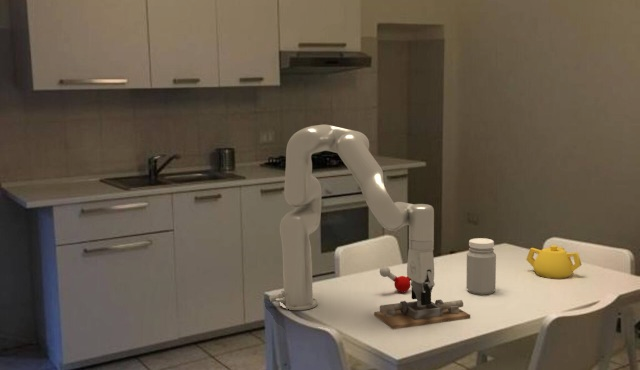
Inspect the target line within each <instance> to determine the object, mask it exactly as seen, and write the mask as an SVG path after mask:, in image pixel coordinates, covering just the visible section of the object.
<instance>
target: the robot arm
mask: <svg viewBox="0 0 640 370" xmlns="http://www.w3.org/2000/svg"><path fill="white" fill-rule="evenodd" d="M369 149H370V141H369V139H368V137H367V135H365V134H364V133H363V132H361V131H357V130H352V129H349V128H348V129H347V128H344V127H339V126H335V125H330V124H318V125H310V126H306V127H304V128H301V129H300V130H297V132H295V133H293V135H292V136H290V139H289V140H288V142H287V145H286V152H285V154H286V155H285V169H284V170H285V171H284V172H285V173H284V193H283V194H284V200H285V201H286V203H287V204H288V205H289V206H291V207H292V208H293V209H294V210H291V211H288V212H287V213H286V214H285V215H284V216H283V217H282V218H281V220H280V224H279V235H280V239H281V240H280V241H281V248H282V249H281V251H282V275H283V277H282V278H283V290H281V292H280V293H278V295H277V294H276V295H275V294H274V295H269V302H270V303H271V302H275V303H279V302H281V303H283V304H284V305H285V306H286V308H287V309H286V310H288V309H289V310H288V311H305V310H309V309H311V310H312V309H313V308H316V307H317V306H318V299H316V298H315V297H314V295H313V293H314V291H313V259H312V245H311V241H310V235H311V234H313V233H314V232H316V231H317V229H318V228H319V226H320V223H321V216H322V215H321V212H322V186H321V183H320V181H319V180H318V179H317V177H315V176H314V175H313V174H312V171H313V161H312V155H314V154H315V153H316V154H317V153H321V152H325V151H326V152H332V153H336V154H338V156H339V158H340V159H341V161H342V162H343V164H344V165H345V166H346V168H347V169H348V170H349V172H350V173H351V175H352V177H353V178H354V180H355V181H356V182H357V183H358V185H359V188H360V192H361V193H362V195H363V198H364V200H365V202H366V204H367V207H368V209H369V210H370V211H371V213H372V214H373V216H374V218H375V219H376V220H377V222H378V223H379V225H381V227H382V228H384V229H385V230H387V231H392V232H394V231H398V230H400V229H401V228H403V227H404V226H408V250H407V251H408V253H407V260H406V261H407V263H406V277H407V276H408V277H409V278H410V279H411V281H410V287H412V282H413V281H415V282H417V283H419V284H421V287H422V292H421V305H429V304H431V302H432V292H433V288H434V287H435V285H436V284H435V281H434V280H435V261H434V259H435V258H434V249H435V247H434V246H435V243H434V242H435V240H434V239H435V238H434V237H435V236H434V235H435V231H434V230H435V228H434V227H435V224H434V223H435V209H434V207H433V205H430V204H425V203H415V204H413V203H408V202H403V201H396V202H394V201H393V199H392V198H391V196H390V195H389V193H388V191H387V188H386V187H385V182H384V172H383V169H382V168H381V165H380V164H379V163H378V162H377V160H376V159H375V158H374V156H373V155H372V153H371V152H370V150H369ZM425 280H428V282H425ZM424 284H428V285H427V286H426V287H425V285H424ZM411 300H417V299H416V295H415V293H414V291H413V289H412V288H411Z"/></svg>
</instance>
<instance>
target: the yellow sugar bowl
mask: <svg viewBox="0 0 640 370" xmlns="http://www.w3.org/2000/svg"><path fill="white" fill-rule="evenodd" d="M535 254H537V256H536V257H535V258H534V255H535ZM571 257H573V261H572V259H571ZM526 261H527V262H528V263H529V265H531V267H532V269H533V271H534V273H535V274H536V275H537V276H539V277H542V278H546V279H557V280H558V279H559V280H560V279H566V278H569V277H571V275H572V274H573V273H574V272H575V271H576V270H577V269H578V268H580V267H581V266H582V261H581V259H580V254H579V252H567V250H565V248H564V247H562V246H558V245H556V244H552V245H549V247H545V248H542V249H538V248H534V247H531V248H530V249H529V250H528V254H527V256H526ZM573 262H574V263H573Z"/></svg>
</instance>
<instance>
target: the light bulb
mask: <svg viewBox="0 0 640 370" xmlns="http://www.w3.org/2000/svg"><path fill="white" fill-rule="evenodd" d="M425 282H428V280H425ZM424 285H425V287H426V286H427V285H428V284H424ZM412 289H413V291H414V293H415V295H416V299H415V300H416V301H417V306H418V307H420V308H423V307H425V305H421V292H422V287H421V284H419V283H417V282H415V281H413V282H412V286H411V290H412Z"/></svg>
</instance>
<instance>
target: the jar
mask: <svg viewBox="0 0 640 370" xmlns="http://www.w3.org/2000/svg"><path fill="white" fill-rule="evenodd" d="M468 246H469V248H468V250H469V251H468V252H467V253H466V285H465V286H466V290H468V292H469V293H470V294H473V295H478V296H486V295H491V294H493V292H495V290H496V283H497V281H496V278H497V277H496V275H497V273H496V271H497V269H496V268H497V255H496V253H495V252H494V251H495V249H494V247H495V241H494V240H493V239H489V238H486V237H483V238H481V237H480V238H479V237H477V238H476V237H475V238H471V239H469V241H468Z"/></svg>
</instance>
